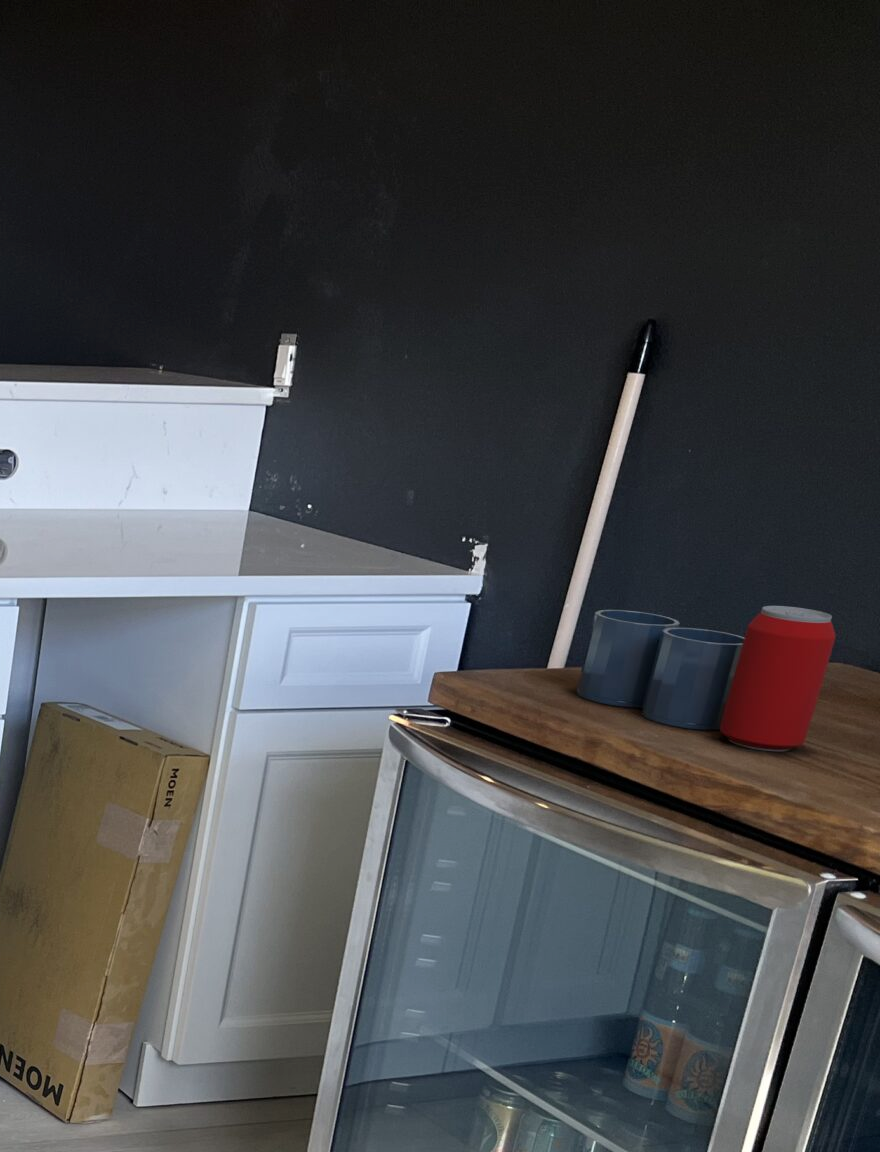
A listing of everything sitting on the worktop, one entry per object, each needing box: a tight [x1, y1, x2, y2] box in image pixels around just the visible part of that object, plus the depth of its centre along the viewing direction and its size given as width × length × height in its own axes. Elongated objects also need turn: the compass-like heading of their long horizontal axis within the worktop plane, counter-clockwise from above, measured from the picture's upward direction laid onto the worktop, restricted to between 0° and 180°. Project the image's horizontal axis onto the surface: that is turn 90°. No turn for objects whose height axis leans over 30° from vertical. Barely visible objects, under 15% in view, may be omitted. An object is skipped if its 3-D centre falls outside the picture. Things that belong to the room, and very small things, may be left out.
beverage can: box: [719, 605, 837, 752], centre depth 167 cm, size 7×7×12 cm
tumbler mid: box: [641, 627, 745, 731], centre depth 175 cm, size 7×7×8 cm
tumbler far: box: [576, 609, 681, 709], centre depth 182 cm, size 7×7×8 cm
